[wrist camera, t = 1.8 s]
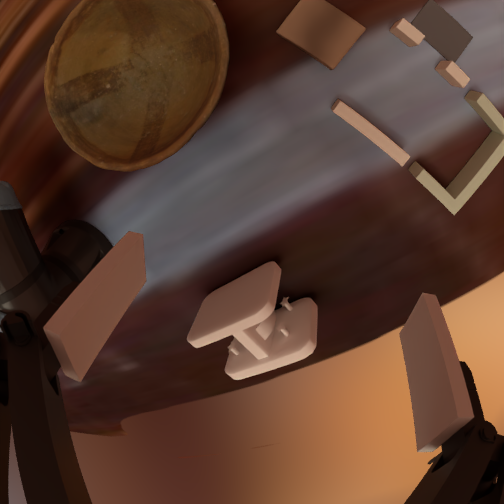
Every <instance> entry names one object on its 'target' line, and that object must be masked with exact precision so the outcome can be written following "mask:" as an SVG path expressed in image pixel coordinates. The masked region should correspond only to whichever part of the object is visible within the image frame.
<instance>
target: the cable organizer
mask: <svg viewBox="0 0 504 504" xmlns="http://www.w3.org/2000/svg"><path fill="white" fill-rule="evenodd" d="M280 276H281V268H280V267H279V266H278V265H277V263H276V262H274V261H272V262H268V263H265V264H263V265H262V266H260V267H258V268H256V269H254V270H252V271H250V272H248V273H247V274H245V275H243V276H241V277H239V278H237V279H235V280H234V281H232V282H230V283H228V284H226V285H224V286H222V287H220V288H219V289H217V290H215V291H213V292H212V293H210V294H209V295H208V296H207V297H206V298H205V299H204V301H203V302H202V305H201V307H200V309H199V311H198V314H197V316H196V318H195V320H194V323H193V325H192V327H191V329H190V332H189V334H188V336H187V341H188V342H189V343H190V344H192V345H193V346H194V347H195V348H199V347H202V346H205V345H207V344H210V343H212V342H215V341H217V340H220V339H222V338H225V337H227V336H230V335H233V336H234V340H233V341H232V342H231V345H230V346H229V347H228V348H229V352H230V354H229V357H228V360H227V364H226V367H225V372H226V373H227V374H228V375H229V376H230V377H232V378H233V379H235V380H240V379H244V378H247V377H250V376H254V375H257V374H260V373H263V372H267V371H270V370H273V369H276V368H279V367H282V366H285V365H288V364H291V363H294V362H296V361H299V360H302V359H304V358H306V357H307V356H309V355H310V354H312V353H313V351H314V349H315V347H316V339H317V305H316V304H315V303H314V301H313V300H312V299H311V298H302V299H299V300H297V301H295V302H293V303H291V304H289V303H288V301H287V300H288V298H289V297H287V298H285V297H284V298H283V301H282V302H281V303H280V304H282V308H280V309H277V310H275V311H274V309H275V304H276V299H277V293H278V288H279V282H280ZM284 305H285V306H284ZM283 306H284V307H283Z"/></svg>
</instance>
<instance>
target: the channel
mask: <svg viewBox="0 0 504 504" xmlns="http://www.w3.org/2000/svg"><path fill="white" fill-rule="evenodd" d="M389 31H390V32H391V33H392V34H394V35H395V36H396V37H398V38H399V39H400V40H401V41H403V42H404V43H405V44H406V45H408V46H409V47H411V46H416V45H419V44H420V42H421V41H422V40H423V38H424V37H425V35H423V34H422V33H421V32H420V31H419V30H417V29H416V28H415V27H414V26H413V25H411V24H410V23H409V22H408V21H406V20H405V19H404V18H403V19H401V20H399V21H397V22H395V24H394V25H393V26H392V27H391V29H390V30H389ZM435 70H436V71H437V72H438V73H439V74H440V75H441V76H442V77H443V78H444V79H446V80H447V81H448V82H449V83H450V84H451V85H452V86H456V87H461V88H464V87H465V86H466V84H467V83H468V82H469V80H470V78H469V77H468V76H467V75H466V74H465V73H464V72H463V71H462V70H461V69H460V68H459V67H458V66H457V65H456V64H455V63H454V62H453V61H440V63H439V64H438V65H437V67H436V68H435ZM331 110H332V111H333V112H334V113H335V114H337V115H338V116H340V117H341V118H342V119H344V120H345V121H346V122H348V123H349V124H350V125H352V126H353V127H354V128H356V129H357V130H358V131H360V132H361V133H362V134H364V135H365V136H366V137H367V138H369V139H370V140H371V141H372V142H374V143H375V144H376V145H377V146H379V147H380V148H381V149H382V150H384V151H385V152H386V153H387V154H388V155H390V156H391V157H392V158H393V159H394V160H395V161H397V162H398V163H399V164H400V165H401V166H403V165H404V164H405V163H406V162H407V160H408V159H409V158H410V156H409V155H408V154H407V153H406V152H405V151H404V150H403V149H401V148H400V147H399V146H398V145H397V144H396V143H394V142H393V141H392V140H391V139H390V138H388V137H387V136H386V135H385V134H384V133H382V132H381V131H380V130H379V129H377V128H376V127H375V126H374V125H372V124H371V123H370V122H369V121H367V120H366V119H365V118H364V117H362V116H361V115H360V114H358V113H357V112H356V111H354V110H353V109H352V108H350V107H349V106H348V105H346V104H345V103H343V102H342V101H341V100H339V99H337V100H336V102H335V103H334V104H333V106H332V107H331Z"/></svg>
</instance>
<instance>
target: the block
mask: <svg viewBox="0 0 504 504" xmlns="http://www.w3.org/2000/svg"><path fill="white" fill-rule="evenodd" d="M365 30H366V28H365V27H363V26H362V25H360V24H359V23H358V22H356V21H355V20H353V19H352V18H351V17H349V16H348V15H346V14H345V13H343V12H342V11H340V10H339V9H337V8H336V7H334V6H333V5H331V4H330V3H328V2H326V1H325V0H300V2H299V3H298V4H297V5H296V7H295V8H294V9H293V10H292V12H291V13H290V14H289V16H288V17H287V18H286V19H285V21H284V22H283V23H282V25H281V26H280V27H279V29H278V30H277V31H276V32H277V34H278V35H279V36H280V37H282V38H283V39H285V40H286V41H288V42H290V43H291V44H293V45H294V46H296V47H298V48H299V49H301V50H302V51H304V52H305V53H307V54H308V55H310V56H311V57H313V58H314V59H316V60H317V61H319V62H320V63H322V64H323V65H324V66H326V67H327V68H329V69H330V70H333V69H334V68H335V67H336V66H337V64H338V63H339V62H340V60H341V59H342V58H343V57H344V55H345V54H346V53H347V52H348V50H349V49H350V48H351V47H352V45H353V44H354V43H355V42H356V41H357V39H358V38H359V37H360V36H361V34H362V33H363V32H364V31H365Z"/></svg>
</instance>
